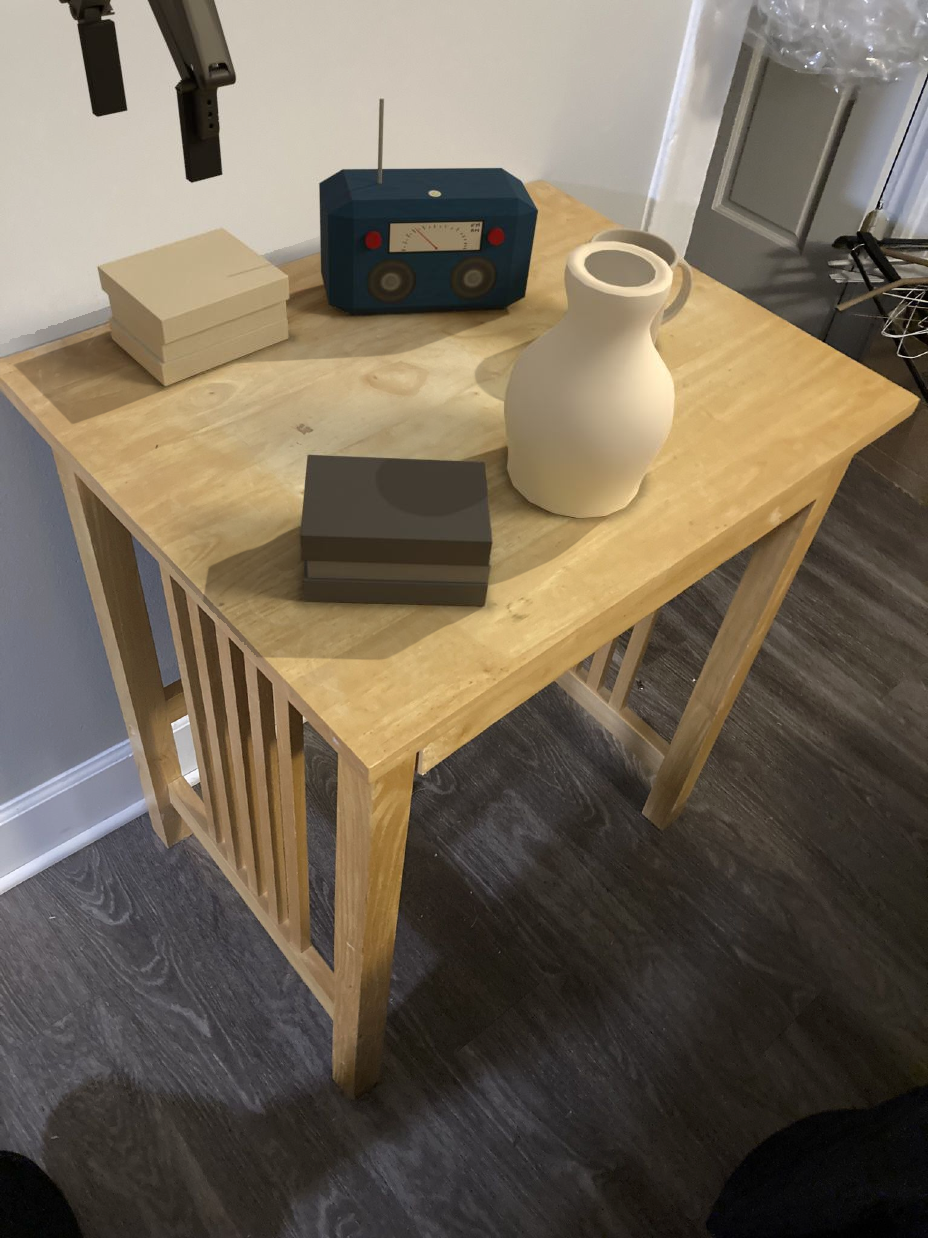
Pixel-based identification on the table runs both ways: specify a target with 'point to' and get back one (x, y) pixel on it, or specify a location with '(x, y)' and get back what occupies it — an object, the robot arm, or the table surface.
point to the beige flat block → (193, 284)
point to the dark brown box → (395, 531)
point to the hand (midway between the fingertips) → (155, 143)
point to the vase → (593, 387)
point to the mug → (665, 253)
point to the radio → (424, 238)
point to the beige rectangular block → (197, 342)
